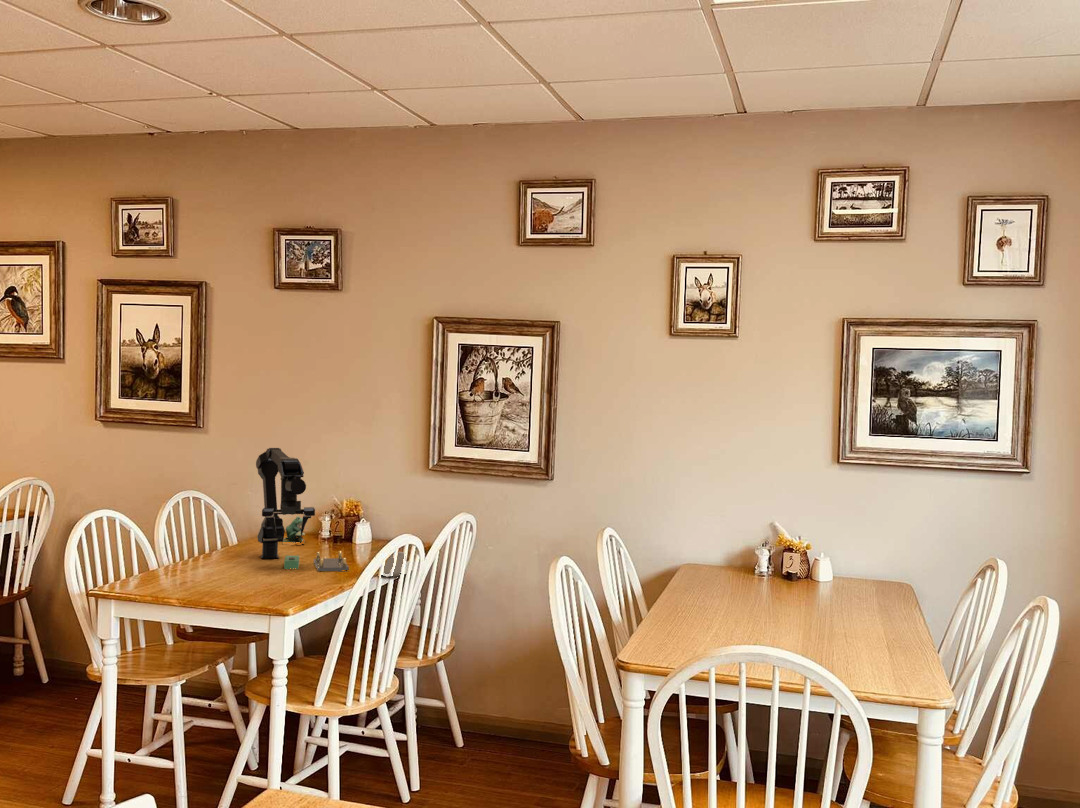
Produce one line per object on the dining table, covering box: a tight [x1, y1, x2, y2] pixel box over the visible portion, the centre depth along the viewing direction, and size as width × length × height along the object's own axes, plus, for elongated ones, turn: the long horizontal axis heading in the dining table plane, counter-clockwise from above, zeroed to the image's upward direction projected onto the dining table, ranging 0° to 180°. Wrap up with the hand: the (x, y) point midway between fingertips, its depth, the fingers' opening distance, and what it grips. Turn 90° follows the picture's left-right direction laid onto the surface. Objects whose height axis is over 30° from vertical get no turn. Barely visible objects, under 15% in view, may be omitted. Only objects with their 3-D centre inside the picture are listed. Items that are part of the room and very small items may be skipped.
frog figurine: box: [283, 515, 306, 543], centre depth 403 cm, size 18×18×12 cm
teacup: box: [374, 551, 405, 578], centre depth 350 cm, size 14×11×8 cm
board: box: [283, 555, 300, 570], centre depth 356 cm, size 10×5×4 cm, turn 12°
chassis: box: [313, 550, 350, 572], centre depth 359 cm, size 17×11×4 cm, turn 18°
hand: (288, 535), depth 354 cm, fingers open, 9 cm apart
